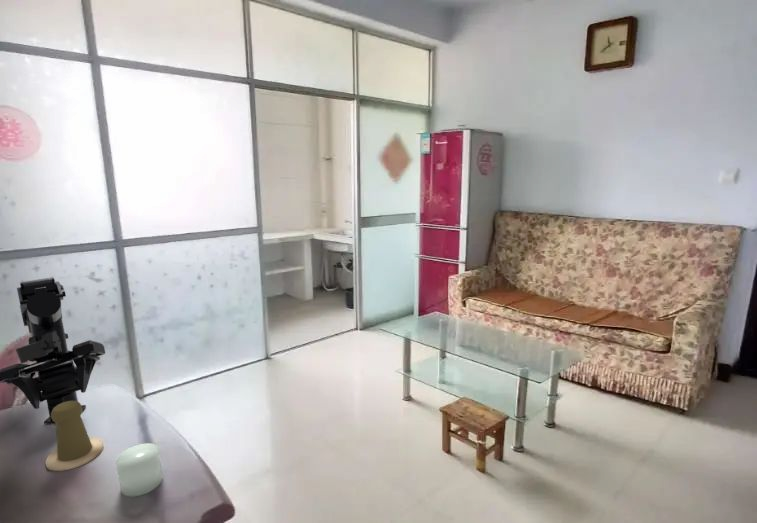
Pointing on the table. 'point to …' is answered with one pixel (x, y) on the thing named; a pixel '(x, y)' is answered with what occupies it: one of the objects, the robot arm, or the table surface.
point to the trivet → (58, 465)
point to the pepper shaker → (70, 431)
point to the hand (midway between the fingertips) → (60, 400)
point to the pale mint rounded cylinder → (139, 469)
